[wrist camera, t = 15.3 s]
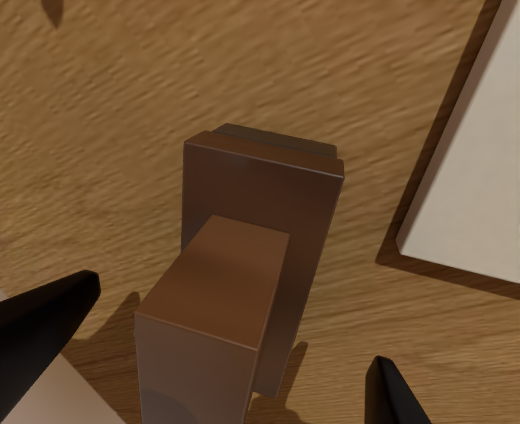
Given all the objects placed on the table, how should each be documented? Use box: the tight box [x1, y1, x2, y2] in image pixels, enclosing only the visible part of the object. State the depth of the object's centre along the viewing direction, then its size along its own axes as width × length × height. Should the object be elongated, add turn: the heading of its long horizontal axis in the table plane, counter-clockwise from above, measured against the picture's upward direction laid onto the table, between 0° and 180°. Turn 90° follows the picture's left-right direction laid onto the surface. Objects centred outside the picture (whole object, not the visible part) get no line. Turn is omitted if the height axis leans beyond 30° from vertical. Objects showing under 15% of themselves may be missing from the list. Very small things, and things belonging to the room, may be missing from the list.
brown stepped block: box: [133, 123, 345, 424], centre depth 10 cm, size 10×4×7 cm, turn 171°
